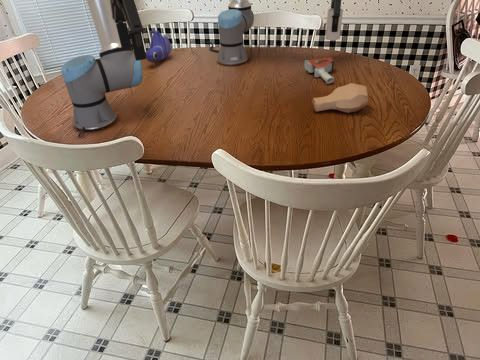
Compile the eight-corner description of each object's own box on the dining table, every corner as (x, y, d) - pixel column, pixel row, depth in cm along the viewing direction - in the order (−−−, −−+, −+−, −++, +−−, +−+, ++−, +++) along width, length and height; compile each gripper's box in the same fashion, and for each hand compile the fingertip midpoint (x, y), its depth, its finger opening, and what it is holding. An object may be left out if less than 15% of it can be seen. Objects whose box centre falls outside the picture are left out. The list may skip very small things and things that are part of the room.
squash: (372, 113, 127) (374, 92, 121) (316, 123, 129) (316, 102, 123) (363, 96, 135) (365, 75, 129) (310, 106, 137) (310, 86, 130)
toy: (159, 62, 200) (139, 68, 178) (155, 30, 193) (133, 32, 171) (176, 61, 198) (157, 67, 176) (172, 29, 191) (151, 31, 169)
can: (342, 38, 171) (346, 9, 164) (331, 41, 169) (334, 12, 162) (333, 35, 177) (336, 7, 169) (322, 37, 174) (324, 9, 167)
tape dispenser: (330, 89, 151) (346, 71, 163) (331, 77, 147) (348, 59, 160) (292, 80, 158) (310, 64, 171) (293, 69, 155) (311, 53, 167)
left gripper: (144, -37, 77) (162, 61, 89) (115, -42, 95) (133, 41, 107) (109, -33, 74) (133, 68, 86) (86, -39, 92) (108, 45, 104)
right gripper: (351, -23, 149) (344, 35, 162) (344, -29, 165) (338, 24, 178) (333, -22, 149) (327, 35, 163) (327, -28, 165) (323, 25, 179)
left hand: (133, 53), depth 97 cm, fingers open, 13 cm apart
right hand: (333, 29), depth 170 cm, fingers closed on can, 7 cm apart
